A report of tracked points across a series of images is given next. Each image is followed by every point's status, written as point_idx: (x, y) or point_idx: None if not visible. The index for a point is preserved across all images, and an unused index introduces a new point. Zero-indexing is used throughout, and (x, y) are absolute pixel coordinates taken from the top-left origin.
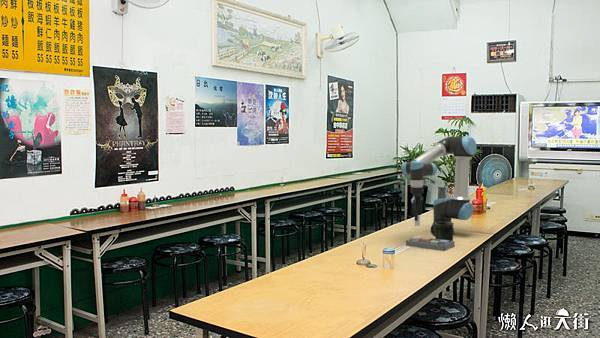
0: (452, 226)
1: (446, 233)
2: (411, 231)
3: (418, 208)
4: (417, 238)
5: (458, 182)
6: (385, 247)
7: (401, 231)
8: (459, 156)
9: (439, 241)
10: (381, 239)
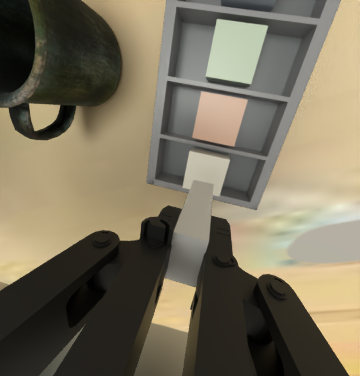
0: None
1: (76, 4)
2: (10, 228)
3: (132, 362)
4: (228, 164)
5: None
6: (276, 262)
7: (29, 253)
8: None
9: None
10: None
